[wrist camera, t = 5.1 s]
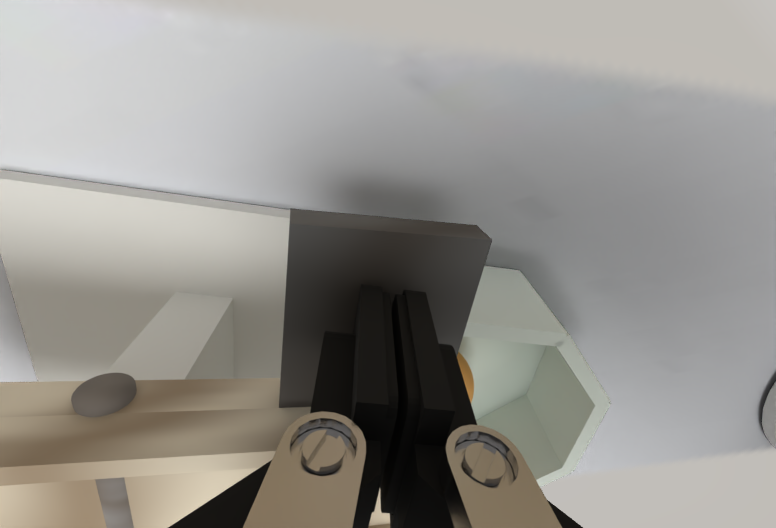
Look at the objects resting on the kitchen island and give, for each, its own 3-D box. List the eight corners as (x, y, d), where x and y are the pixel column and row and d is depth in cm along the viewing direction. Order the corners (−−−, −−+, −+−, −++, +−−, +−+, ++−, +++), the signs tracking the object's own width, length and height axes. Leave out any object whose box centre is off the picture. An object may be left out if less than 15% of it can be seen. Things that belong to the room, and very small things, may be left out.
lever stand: (398, 225, 17) (415, 308, 11) (359, 432, 23) (356, 564, 17) (0, 169, 15) (-241, 233, 9) (63, 409, 21) (-61, 547, 15)
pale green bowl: (578, 278, 19) (644, 342, 14) (515, 428, 23) (550, 513, 19) (369, 250, 18) (369, 311, 13) (343, 413, 22) (337, 500, 18)
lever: (488, 222, 11) (553, 279, 8) (407, 500, 17) (429, 592, 14) (-650, 117, 6) (-1469, 168, 3) (-237, 564, 12) (-412, 729, 9)
